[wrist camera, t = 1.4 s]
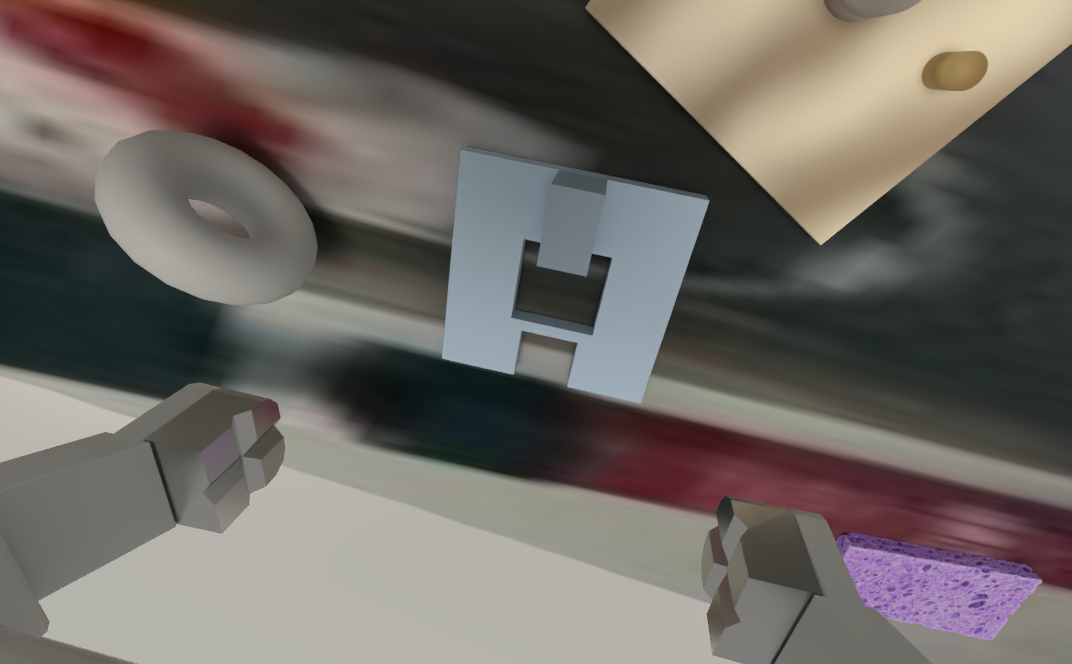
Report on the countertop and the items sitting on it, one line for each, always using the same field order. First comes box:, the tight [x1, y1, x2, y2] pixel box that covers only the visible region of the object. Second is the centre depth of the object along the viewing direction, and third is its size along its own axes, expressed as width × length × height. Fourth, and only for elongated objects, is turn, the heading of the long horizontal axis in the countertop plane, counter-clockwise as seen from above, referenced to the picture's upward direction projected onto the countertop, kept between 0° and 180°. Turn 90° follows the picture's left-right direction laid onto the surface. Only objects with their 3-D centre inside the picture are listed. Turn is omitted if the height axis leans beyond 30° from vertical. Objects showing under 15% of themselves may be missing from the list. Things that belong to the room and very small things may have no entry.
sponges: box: [836, 533, 1042, 640], centre depth 36 cm, size 7×13×2 cm, turn 85°
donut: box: [95, 131, 318, 305], centre depth 25 cm, size 10×4×10 cm, turn 41°
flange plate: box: [442, 147, 709, 404], centre depth 28 cm, size 13×13×5 cm
